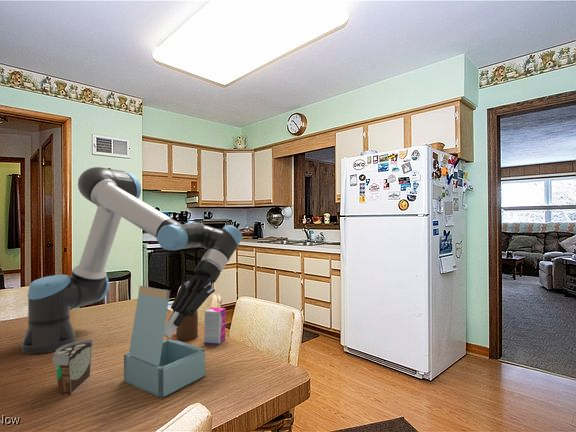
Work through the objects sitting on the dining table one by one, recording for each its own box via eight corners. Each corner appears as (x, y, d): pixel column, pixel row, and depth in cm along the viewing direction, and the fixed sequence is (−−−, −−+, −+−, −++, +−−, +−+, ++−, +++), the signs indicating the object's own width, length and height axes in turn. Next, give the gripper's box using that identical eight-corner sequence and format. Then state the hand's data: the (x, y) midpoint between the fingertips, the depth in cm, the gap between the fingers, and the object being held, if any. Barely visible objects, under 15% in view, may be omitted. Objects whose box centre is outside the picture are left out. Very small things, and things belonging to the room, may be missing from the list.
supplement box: (219, 345, 115) (219, 311, 115) (203, 344, 116) (203, 311, 116) (226, 339, 120) (225, 307, 121) (210, 338, 122) (210, 306, 122)
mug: (165, 335, 125) (165, 310, 125) (183, 329, 131) (183, 305, 131) (184, 342, 117) (184, 315, 117) (202, 336, 123) (202, 311, 123)
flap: (131, 353, 89) (142, 285, 92) (159, 364, 83) (170, 290, 85) (128, 354, 89) (139, 285, 91) (156, 365, 82) (167, 290, 85)
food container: (69, 375, 93) (69, 339, 93) (92, 374, 93) (92, 338, 93) (40, 399, 81) (40, 357, 81) (67, 398, 81) (67, 356, 81)
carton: (170, 360, 102) (170, 337, 102) (209, 374, 93) (209, 349, 93) (122, 380, 90) (122, 354, 90) (162, 399, 80) (162, 370, 80)
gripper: (231, 275, 104) (189, 346, 90) (203, 272, 111) (159, 337, 97) (219, 260, 99) (172, 332, 85) (190, 258, 107) (142, 324, 92)
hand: (165, 335), depth 91 cm, fingers closed
